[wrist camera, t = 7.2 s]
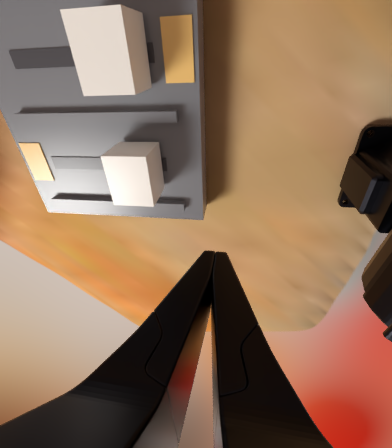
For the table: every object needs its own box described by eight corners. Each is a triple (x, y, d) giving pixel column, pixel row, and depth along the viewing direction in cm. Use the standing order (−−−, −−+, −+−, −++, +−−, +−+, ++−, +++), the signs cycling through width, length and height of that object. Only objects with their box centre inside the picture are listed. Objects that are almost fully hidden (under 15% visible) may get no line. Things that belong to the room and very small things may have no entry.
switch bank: (196, -340, 9) (179, -486, 7) (206, 205, 23) (202, 224, 21) (-120, -249, 11) (-222, -332, 9) (63, 199, 25) (44, 215, 23)
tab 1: (142, 12, 13) (120, 4, 11) (152, 87, 15) (135, 94, 13) (91, 16, 14) (59, 9, 11) (107, 89, 16) (83, 96, 13)
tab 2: (158, 141, 17) (145, 156, 15) (164, 187, 19) (154, 206, 17) (119, 141, 18) (100, 156, 15) (129, 186, 20) (113, 204, 17)
